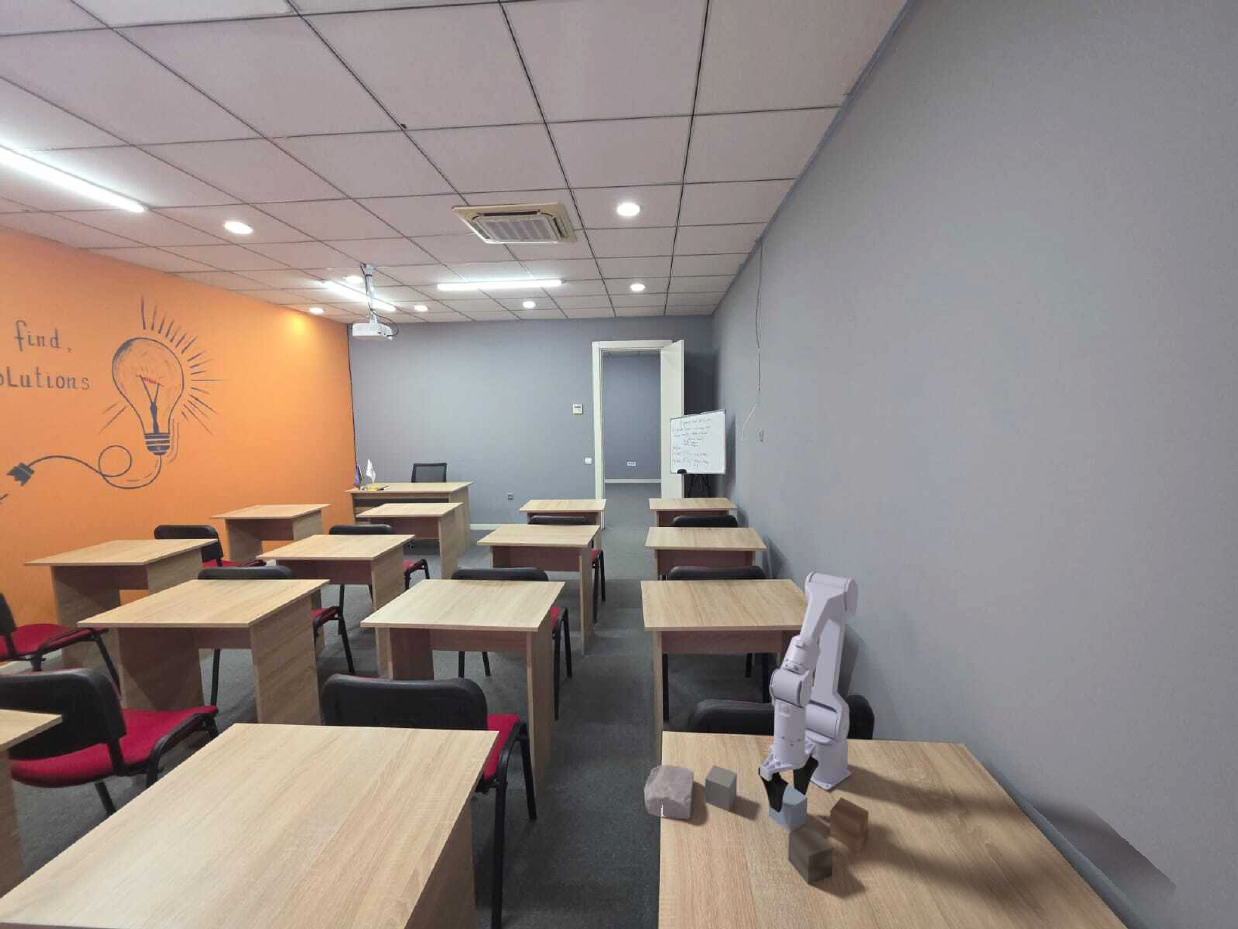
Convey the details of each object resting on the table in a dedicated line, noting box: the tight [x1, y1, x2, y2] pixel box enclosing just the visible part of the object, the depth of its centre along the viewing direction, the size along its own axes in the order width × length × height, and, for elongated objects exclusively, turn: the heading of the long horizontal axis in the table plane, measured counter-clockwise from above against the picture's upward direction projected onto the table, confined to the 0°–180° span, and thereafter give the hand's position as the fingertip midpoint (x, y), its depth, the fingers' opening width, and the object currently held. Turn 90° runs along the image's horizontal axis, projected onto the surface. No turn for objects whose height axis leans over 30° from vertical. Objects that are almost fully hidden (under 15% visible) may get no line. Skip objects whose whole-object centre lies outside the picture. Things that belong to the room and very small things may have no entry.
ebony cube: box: [787, 825, 834, 885], centre depth 84 cm, size 5×5×5 cm
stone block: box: [643, 764, 695, 821], centre depth 100 cm, size 12×5×10 cm
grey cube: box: [704, 764, 738, 812], centre depth 100 cm, size 5×5×5 cm
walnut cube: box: [829, 796, 870, 853], centre depth 90 cm, size 5×5×5 cm
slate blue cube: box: [768, 784, 808, 833], centre depth 95 cm, size 5×5×5 cm
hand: (787, 800), depth 94 cm, fingers open, 7 cm apart
